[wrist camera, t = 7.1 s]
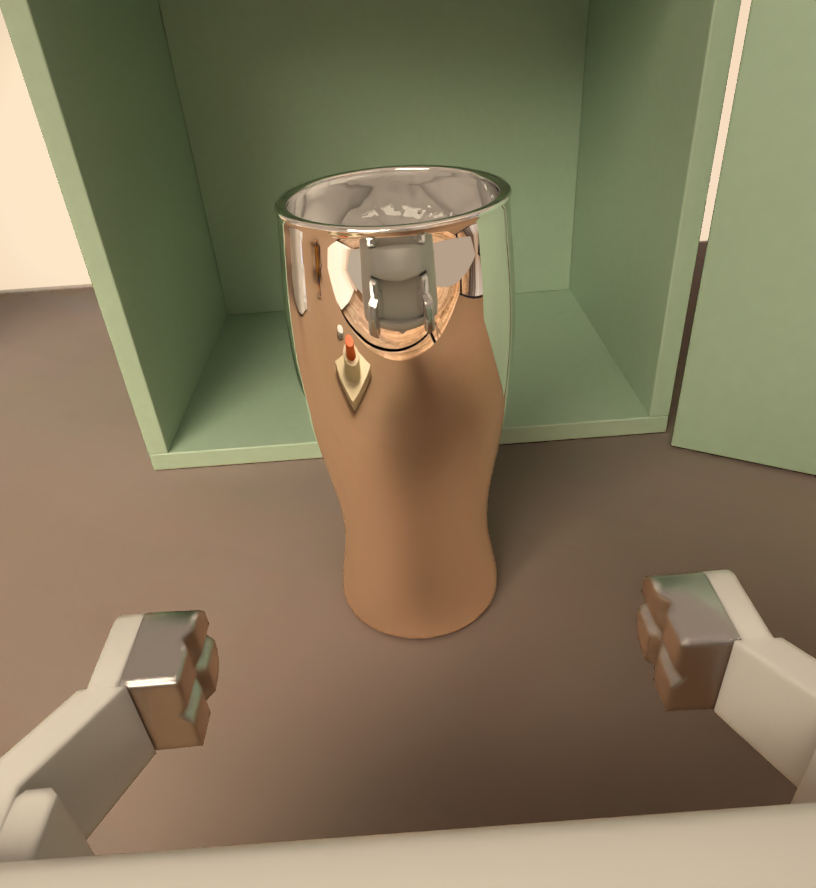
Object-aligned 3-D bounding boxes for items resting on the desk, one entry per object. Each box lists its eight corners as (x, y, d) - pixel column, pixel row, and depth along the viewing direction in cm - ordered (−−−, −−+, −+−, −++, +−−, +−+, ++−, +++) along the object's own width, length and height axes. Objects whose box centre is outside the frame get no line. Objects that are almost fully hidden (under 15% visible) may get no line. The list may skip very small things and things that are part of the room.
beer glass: (540, 561, 28) (564, 174, 20) (443, 682, 24) (421, 247, 15) (402, 503, 32) (373, 155, 23) (296, 598, 27) (211, 210, 19)
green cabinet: (666, 432, 35) (779, -211, 22) (153, 471, 35) (-53, -149, 22) (578, 296, 50) (613, -134, 37) (219, 323, 50) (121, -97, 37)
